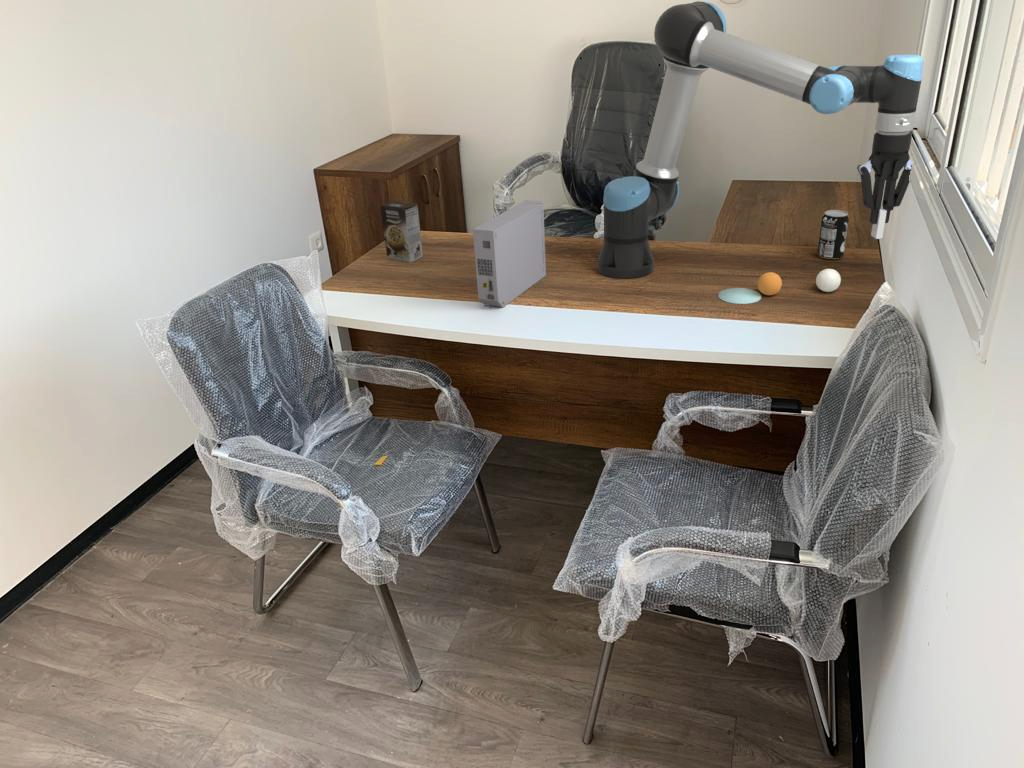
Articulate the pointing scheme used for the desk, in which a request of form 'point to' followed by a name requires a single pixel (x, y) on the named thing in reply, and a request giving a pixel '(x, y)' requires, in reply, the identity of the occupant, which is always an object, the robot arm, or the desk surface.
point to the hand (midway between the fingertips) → (876, 236)
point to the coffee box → (401, 231)
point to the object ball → (769, 283)
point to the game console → (510, 253)
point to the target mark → (739, 296)
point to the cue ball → (828, 280)
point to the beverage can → (833, 234)
